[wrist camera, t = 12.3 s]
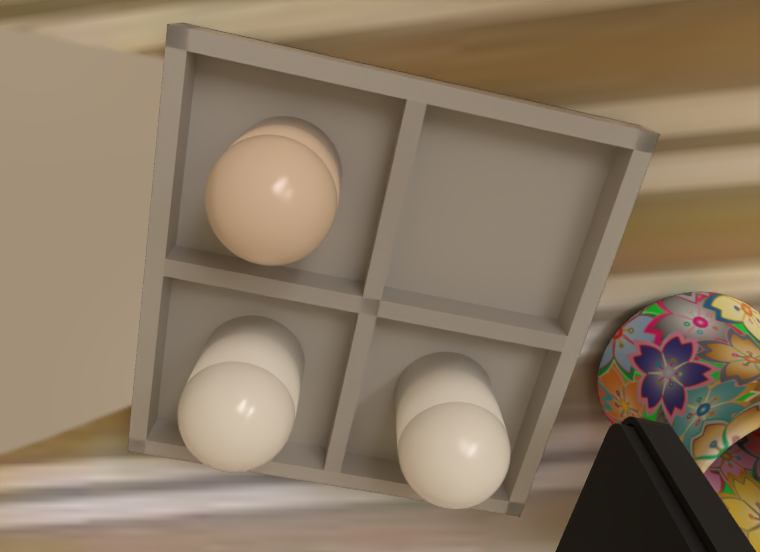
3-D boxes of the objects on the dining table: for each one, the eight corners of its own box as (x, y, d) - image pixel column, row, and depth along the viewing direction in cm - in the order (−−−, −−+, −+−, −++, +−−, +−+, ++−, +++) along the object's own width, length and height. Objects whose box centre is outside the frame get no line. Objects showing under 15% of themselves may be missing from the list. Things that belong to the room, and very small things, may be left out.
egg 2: (406, 343, 32) (415, 426, 26) (504, 361, 32) (536, 447, 26) (385, 427, 34) (388, 524, 27) (477, 443, 34) (502, 542, 28)
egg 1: (237, 105, 28) (198, 133, 21) (352, 129, 28) (346, 164, 22) (223, 214, 29) (182, 271, 23) (331, 236, 30) (320, 297, 24)
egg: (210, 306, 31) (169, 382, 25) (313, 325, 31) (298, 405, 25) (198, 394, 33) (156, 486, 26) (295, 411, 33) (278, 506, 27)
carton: (183, 22, 27) (167, 23, 25) (639, 125, 29) (659, 133, 27) (142, 424, 34) (127, 451, 32) (511, 487, 36) (520, 516, 34)
